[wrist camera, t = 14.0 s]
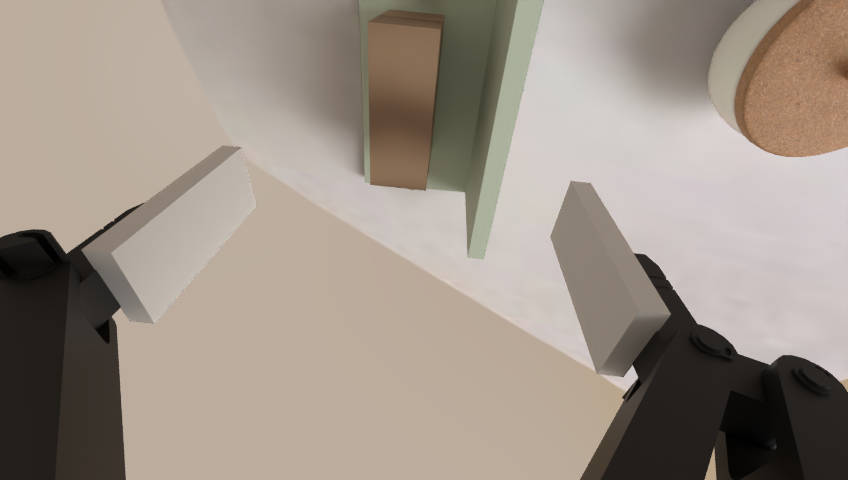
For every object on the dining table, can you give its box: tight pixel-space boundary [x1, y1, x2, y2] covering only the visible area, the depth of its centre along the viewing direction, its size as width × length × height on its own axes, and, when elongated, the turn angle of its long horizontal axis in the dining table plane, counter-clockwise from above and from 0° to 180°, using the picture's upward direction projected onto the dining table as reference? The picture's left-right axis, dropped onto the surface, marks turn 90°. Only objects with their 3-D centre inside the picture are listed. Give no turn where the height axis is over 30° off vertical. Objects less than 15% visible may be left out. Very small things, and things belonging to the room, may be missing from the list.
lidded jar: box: [708, 0, 848, 157], centre depth 23 cm, size 11×11×9 cm
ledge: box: [359, 0, 544, 259], centre depth 25 cm, size 18×11×11 cm, turn 176°
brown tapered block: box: [368, 10, 445, 190], centre depth 25 cm, size 10×4×8 cm, turn 176°
